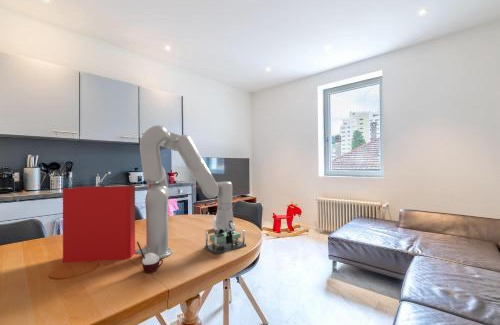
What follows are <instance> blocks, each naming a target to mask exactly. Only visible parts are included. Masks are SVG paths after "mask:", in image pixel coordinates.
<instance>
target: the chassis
mask: <svg viewBox="0 0 500 325" xmlns="http://www.w3.org/2000/svg"><path fill="white" fill-rule="evenodd" d="M234 228H235V230H236V225H235V226H234ZM235 230H234V231H235ZM235 232H236V231H235ZM245 234H246V233H245V230H244V229H242V241H240V240H239V238H237V239H232V243H229V244H226V241H224V242H220V243H217V236H215V242H213V241H211V243H212V244H211V243H210V244H209V241H208V240H209V237H208V236H209V233H208V231H205V245H204V247H203V248H204V249H205V250H207V251H209V252H210V253H212V254H213V255H218V254H223V253H226V252H230V251H233V250H236V249H237V250H238V249H240V248H244V247H247V244H246V243H245V242H246V240H245V236H246V235H245Z"/></svg>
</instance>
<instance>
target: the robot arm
mask: <svg viewBox="0 0 500 325" xmlns="http://www.w3.org/2000/svg"><path fill="white" fill-rule="evenodd" d="M160 147H162V148H166V149H169V150H172V151H175V152H178V154H179V156H180V157H181V159H182V161H183V163H184V164H185V166H186V168H187V169H188V171H189V173H190V174H191V175H192V177H194V180H195V181H196V182H197V184H198V185H199V187H200V189H201V192H202V194H203V195H204V196H205V197H206V198H207V199H215V198H216V197H217V210H216V216H215V217H216V226H217V228H218V230H217V231H218V234H220V233H224V231H223V230H226V233H227V236H226V244H229V243H232V235H233V233H234V230H236V227H235V228H234V226H233V225H234V224H235V223H234V212H233V183H232V182H231V181H216V180H215V178H214V176H213V175H212V173H211V171H210V169H209V168H208V166H207V163H206V162H205V160H204V159H203V157H202V155H201V153H200V151H199V150H198V148H197V147H196V145H195V143H194V141H193V139H192V138H191V136H189V135H188V134H177V133H175V132H171V131H168V130H167V128H166V127H164V126H163V125H159V124H157V125H153V126H151V127H149V128H147V129H146V130H145V131H144V132H143V134H142V136H141V137H140V141H139V153H140V159H141V167H142V178H143V179H144V181H145V182H146V185H147V190H148V191H147V192H146V194H145V201H144V204H145V225H146V226H145V228H146V229H145V230H146V231H145V232H146V234H145V237H146V238H145V241H146V242H145V245H144V247H142V248H141V250H142V252H143V254H144V256H145V255H146V254H147V253H154V254H156V255H157V256H158V257H159V260H161V259H163V258H167V257H169V256H171V254H172V252H173V251H172V249H171V248H170V247H169V196H170V191H169V185H168V179H167V174H166V173H167V172H166V170H165V168H164V167H163V164H162V155H161V150H160ZM228 228H230V229H228ZM228 230H230V231H229V232H228ZM134 255H140V256H141V255H142V253H141V251H140V249H138V248H137V249H135V254H134Z"/></svg>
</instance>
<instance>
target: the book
mask: <svg viewBox="0 0 500 325" xmlns="http://www.w3.org/2000/svg"><path fill="white" fill-rule="evenodd" d="M135 250H136V186H135V185H112V186H110V185H109V186H108V185H107V186H106V185H103V186H100V185H99V186H74V188H72V187H71V188H62V263H79V262H80V263H81V262H82V263H84V262H99V261H100V262H102V261H120V260H129V259H131V258H132V257H133V256H135V255H136V254H135Z"/></svg>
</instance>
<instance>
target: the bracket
mask: <svg viewBox="0 0 500 325" xmlns="http://www.w3.org/2000/svg"><path fill="white" fill-rule="evenodd" d="M233 226H235V227H236V224H235V223H234V225H233ZM228 229H230V228H228ZM213 231H218V228H217V226H216V216H213Z"/></svg>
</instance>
